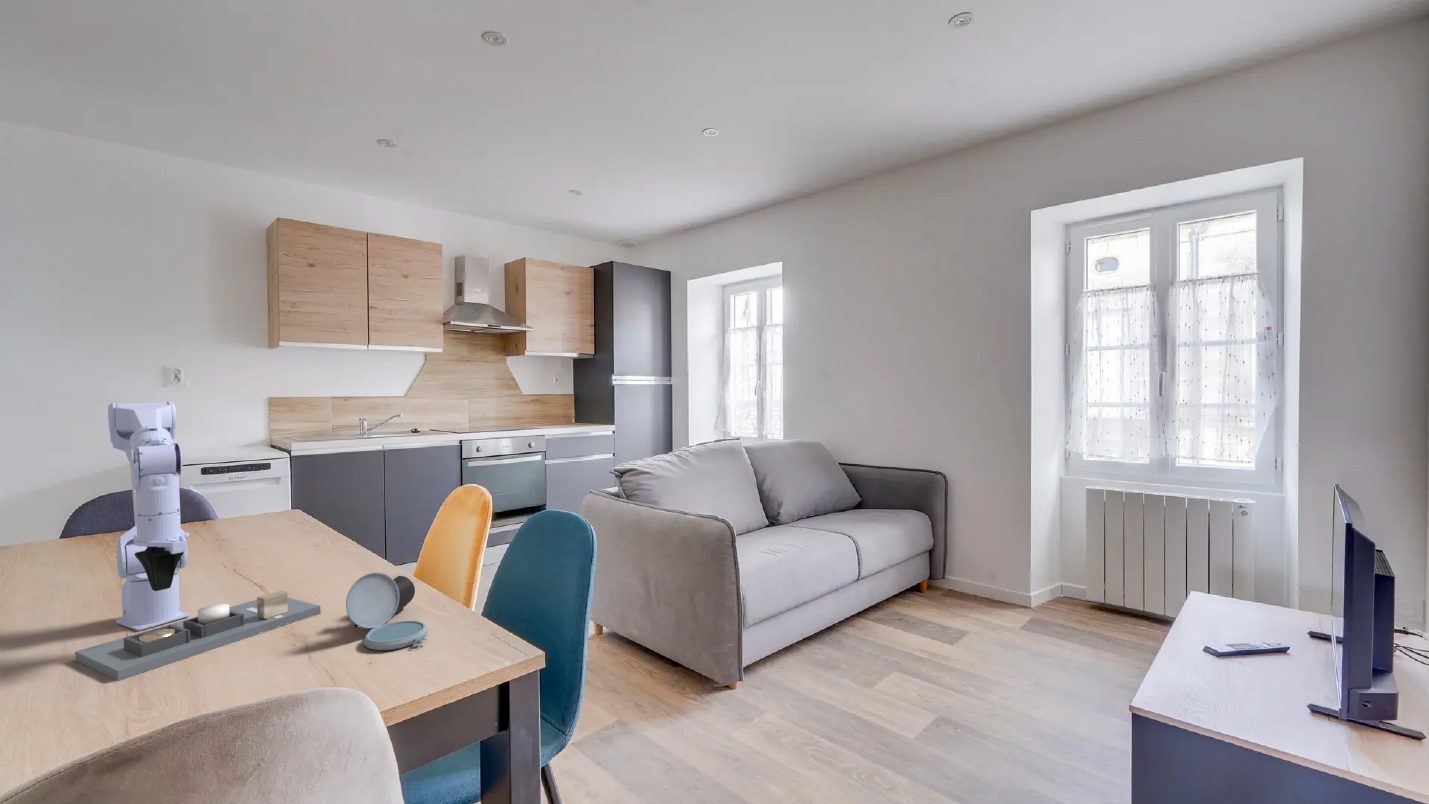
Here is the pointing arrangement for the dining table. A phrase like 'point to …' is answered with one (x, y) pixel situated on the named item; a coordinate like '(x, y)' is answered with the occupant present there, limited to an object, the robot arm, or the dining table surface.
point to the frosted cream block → (272, 604)
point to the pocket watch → (381, 613)
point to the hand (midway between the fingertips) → (161, 589)
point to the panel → (186, 639)
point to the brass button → (156, 635)
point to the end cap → (403, 592)
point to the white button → (213, 613)
